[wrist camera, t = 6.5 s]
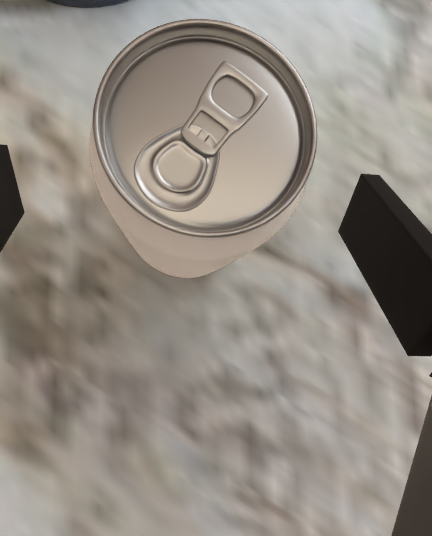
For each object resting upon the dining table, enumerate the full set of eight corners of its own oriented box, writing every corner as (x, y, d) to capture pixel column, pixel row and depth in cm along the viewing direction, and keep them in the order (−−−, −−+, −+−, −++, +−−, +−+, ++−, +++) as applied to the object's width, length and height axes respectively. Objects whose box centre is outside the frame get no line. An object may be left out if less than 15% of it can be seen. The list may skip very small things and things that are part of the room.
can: (104, 234, 20) (14, 146, 8) (173, 144, 21) (179, -49, 9) (199, 301, 21) (241, 308, 9) (263, 211, 22) (379, 106, 10)
